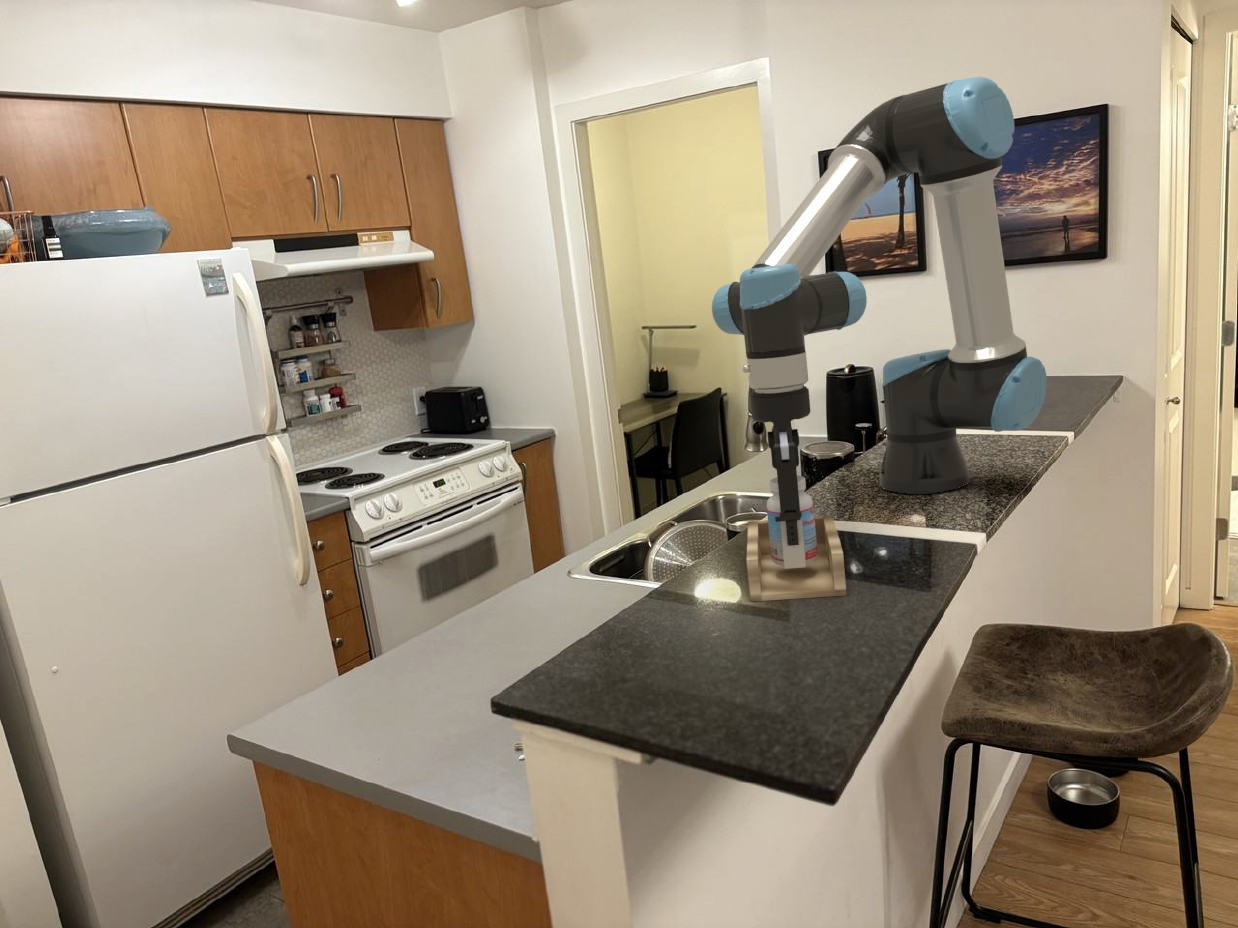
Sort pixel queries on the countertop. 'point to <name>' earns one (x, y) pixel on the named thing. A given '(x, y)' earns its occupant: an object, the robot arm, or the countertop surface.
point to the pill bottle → (807, 523)
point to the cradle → (795, 582)
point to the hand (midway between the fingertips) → (794, 558)
